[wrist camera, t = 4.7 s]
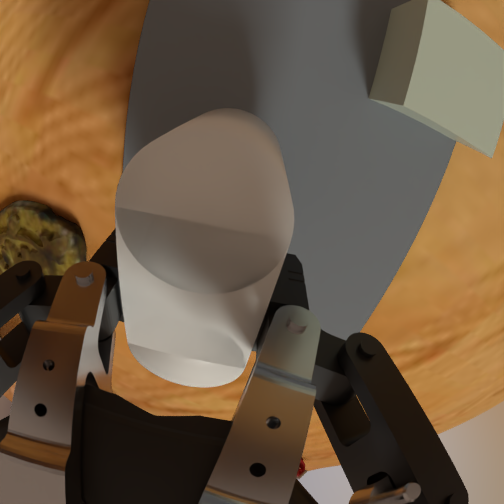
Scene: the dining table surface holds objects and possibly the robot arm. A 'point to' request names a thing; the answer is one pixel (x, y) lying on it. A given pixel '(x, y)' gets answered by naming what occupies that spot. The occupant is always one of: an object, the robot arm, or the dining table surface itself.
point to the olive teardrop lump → (39, 238)
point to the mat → (302, 129)
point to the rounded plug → (202, 245)
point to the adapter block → (442, 73)
